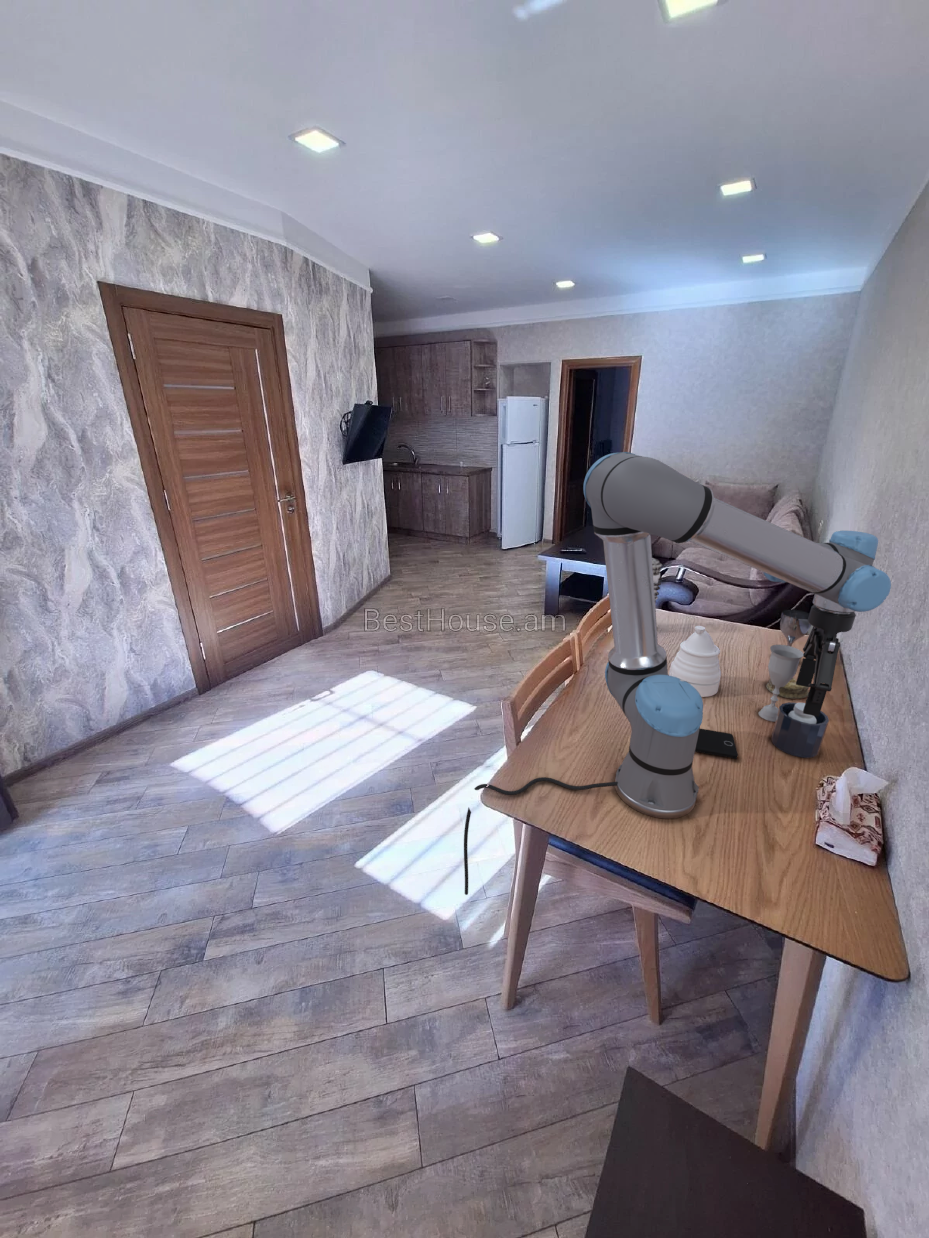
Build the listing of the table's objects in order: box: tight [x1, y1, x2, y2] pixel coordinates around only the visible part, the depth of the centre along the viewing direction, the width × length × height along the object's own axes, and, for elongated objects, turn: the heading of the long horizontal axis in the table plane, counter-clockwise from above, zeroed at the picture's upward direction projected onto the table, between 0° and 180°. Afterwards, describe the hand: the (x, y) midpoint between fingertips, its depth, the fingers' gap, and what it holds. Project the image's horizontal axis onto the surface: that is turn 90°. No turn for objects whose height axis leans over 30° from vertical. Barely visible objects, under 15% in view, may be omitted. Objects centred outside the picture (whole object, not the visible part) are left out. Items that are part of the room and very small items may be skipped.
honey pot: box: [668, 625, 722, 698], centre depth 137 cm, size 13×13×18 cm
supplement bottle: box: [788, 702, 817, 724], centre depth 112 cm, size 5×5×10 cm
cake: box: [765, 677, 810, 700], centre depth 136 cm, size 10×10×5 cm
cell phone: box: [695, 728, 739, 760], centre depth 116 cm, size 9×18×1 cm, turn 71°
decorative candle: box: [652, 557, 663, 609], centre depth 173 cm, size 9×9×25 cm
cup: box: [771, 701, 830, 759], centre depth 113 cm, size 9×9×8 cm
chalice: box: [758, 644, 804, 723], centre depth 122 cm, size 7×7×18 cm
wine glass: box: [779, 609, 812, 647], centre depth 151 cm, size 8×8×15 cm
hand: (806, 699), depth 110 cm, fingers open, 13 cm apart
